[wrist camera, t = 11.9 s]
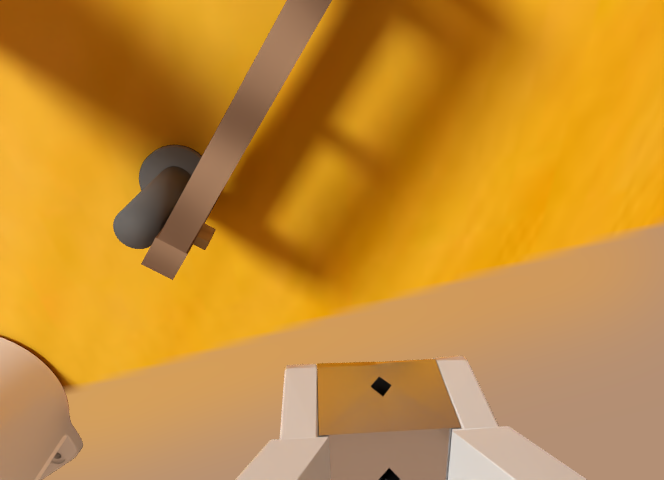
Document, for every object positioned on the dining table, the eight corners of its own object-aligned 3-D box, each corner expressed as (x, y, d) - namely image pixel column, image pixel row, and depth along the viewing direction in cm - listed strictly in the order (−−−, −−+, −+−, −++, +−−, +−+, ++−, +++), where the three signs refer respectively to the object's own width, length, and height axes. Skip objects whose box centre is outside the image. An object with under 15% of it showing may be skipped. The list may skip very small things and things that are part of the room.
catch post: (187, 225, 36) (149, 285, 28) (128, 182, 34) (70, 232, 26) (228, 176, 34) (201, 225, 26) (169, 129, 33) (121, 165, 25)
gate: (340, -79, 28) (351, -124, 19) (377, -50, 28) (405, -81, 20) (185, 202, 34) (141, 263, 25) (218, 220, 35) (186, 286, 26)
